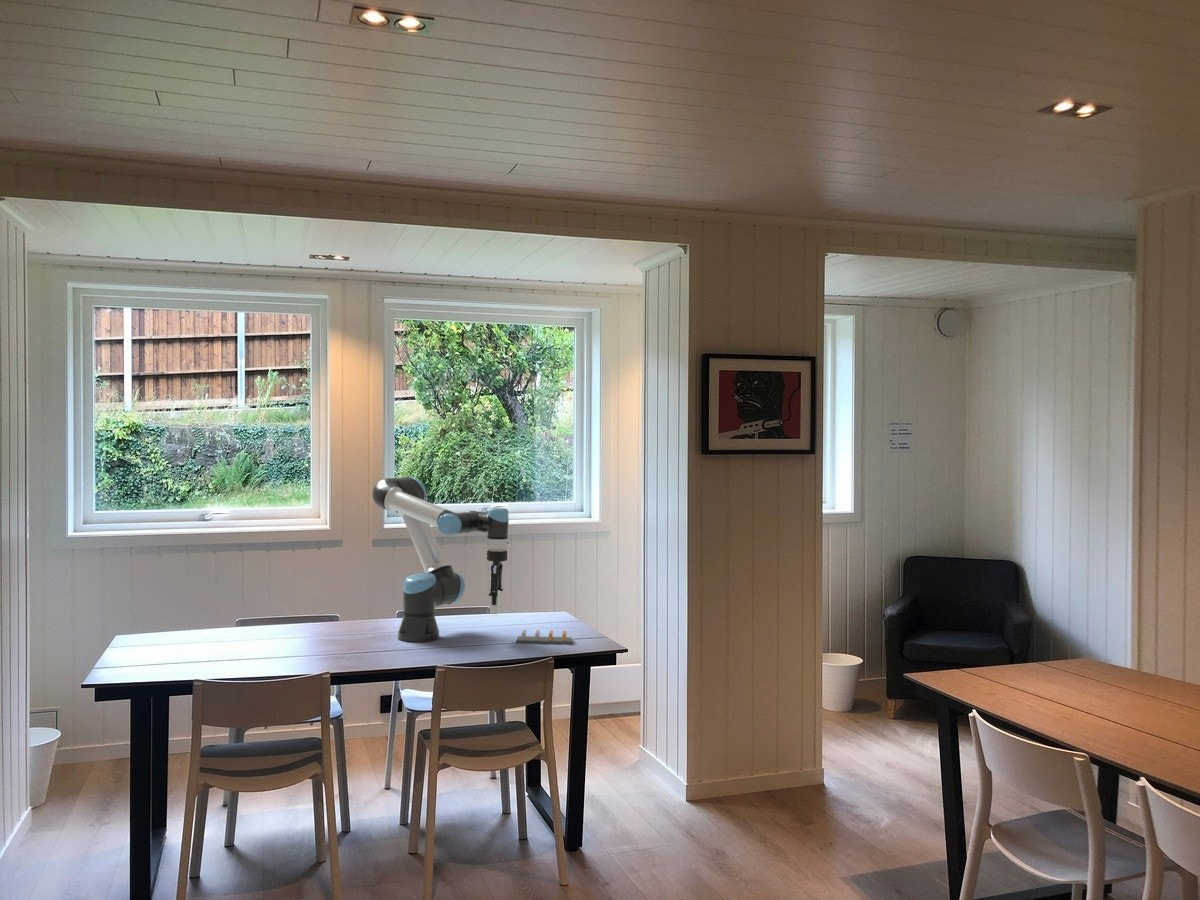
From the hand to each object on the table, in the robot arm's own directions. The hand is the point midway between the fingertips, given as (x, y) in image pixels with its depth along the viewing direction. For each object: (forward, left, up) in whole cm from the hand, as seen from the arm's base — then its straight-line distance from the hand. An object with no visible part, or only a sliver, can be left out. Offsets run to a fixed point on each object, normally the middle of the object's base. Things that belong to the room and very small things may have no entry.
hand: (495, 611), depth 348 cm
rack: (+18, 0, -11) cm, 21 cm away
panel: (0, 0, 0) cm, 0 cm away
